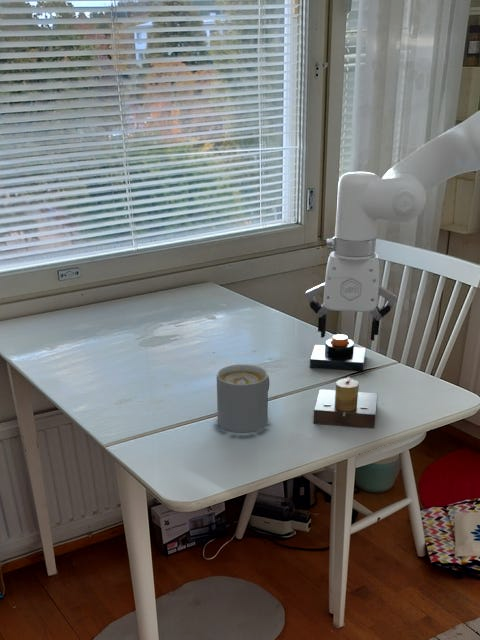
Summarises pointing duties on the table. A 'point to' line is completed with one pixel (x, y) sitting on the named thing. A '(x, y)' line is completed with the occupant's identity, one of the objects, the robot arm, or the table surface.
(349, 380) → the dial
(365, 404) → the dial panel
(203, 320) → the table surface
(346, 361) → the button box
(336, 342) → the button
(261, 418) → the coffee mug
